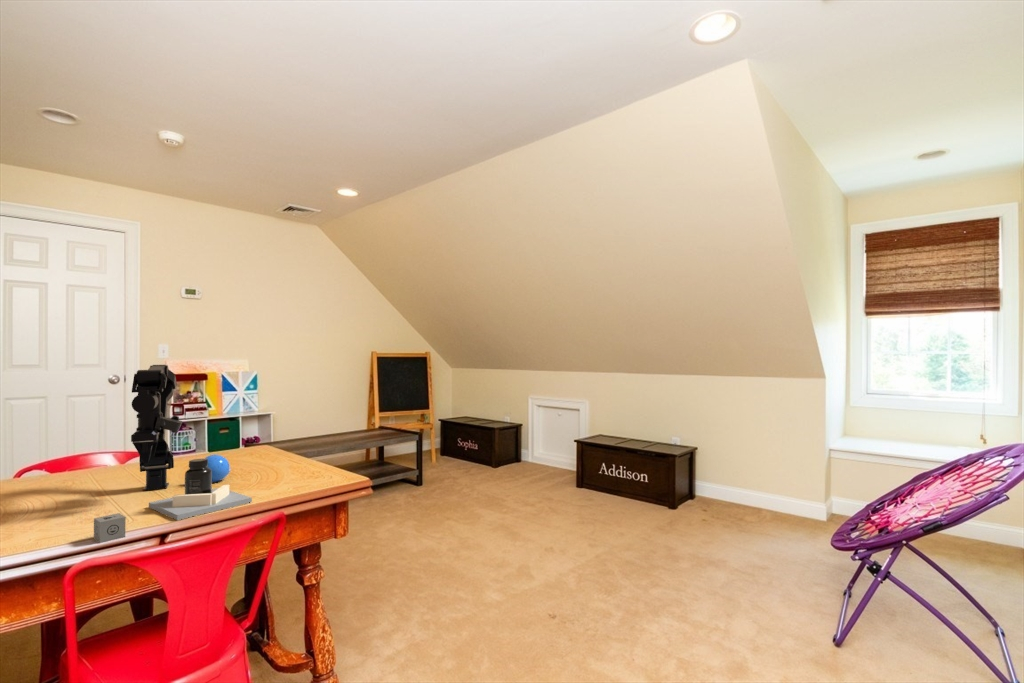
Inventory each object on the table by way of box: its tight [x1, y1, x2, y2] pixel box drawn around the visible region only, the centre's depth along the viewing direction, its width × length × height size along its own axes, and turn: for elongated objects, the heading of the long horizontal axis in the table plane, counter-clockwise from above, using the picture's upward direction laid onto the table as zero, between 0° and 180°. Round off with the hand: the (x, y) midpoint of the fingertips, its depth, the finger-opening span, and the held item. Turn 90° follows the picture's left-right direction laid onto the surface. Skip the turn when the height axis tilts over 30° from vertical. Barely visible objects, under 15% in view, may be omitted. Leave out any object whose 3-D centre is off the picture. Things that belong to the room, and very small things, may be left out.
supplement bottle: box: [184, 458, 213, 495], centre depth 150 cm, size 7×7×12 cm
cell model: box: [204, 454, 232, 483], centre depth 179 cm, size 10×12×10 cm
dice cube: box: [93, 512, 127, 544], centre depth 124 cm, size 5×5×5 cm
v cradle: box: [148, 484, 253, 521], centre depth 151 cm, size 20×20×4 cm
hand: (148, 460), depth 157 cm, fingers open, 9 cm apart
